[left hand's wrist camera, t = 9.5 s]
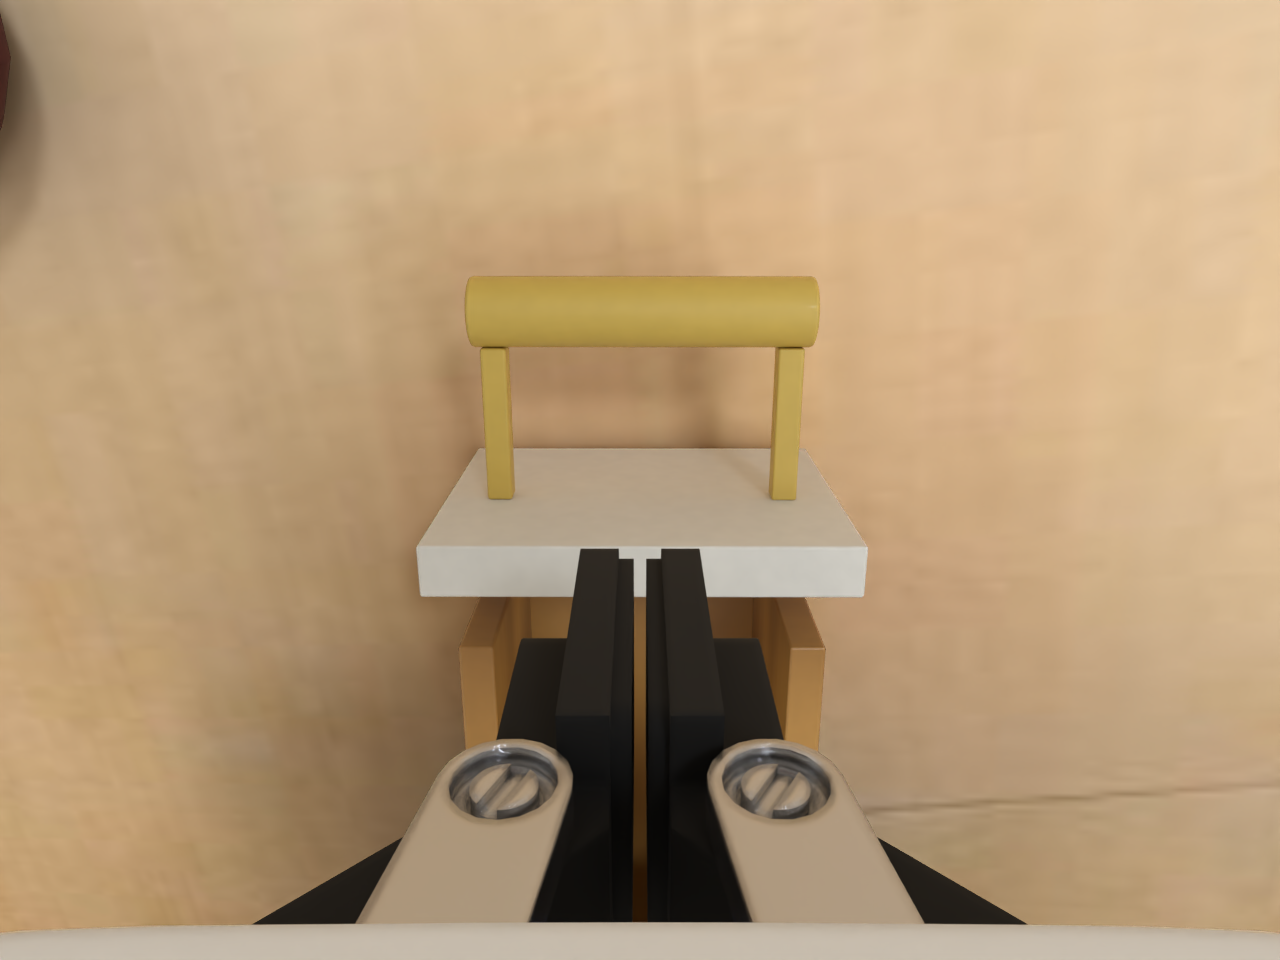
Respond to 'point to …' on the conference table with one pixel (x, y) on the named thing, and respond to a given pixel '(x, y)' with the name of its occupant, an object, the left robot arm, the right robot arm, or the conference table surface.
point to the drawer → (642, 499)
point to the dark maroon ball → (3, 70)
